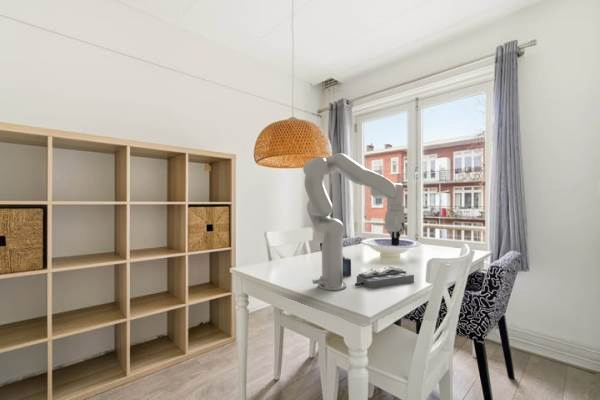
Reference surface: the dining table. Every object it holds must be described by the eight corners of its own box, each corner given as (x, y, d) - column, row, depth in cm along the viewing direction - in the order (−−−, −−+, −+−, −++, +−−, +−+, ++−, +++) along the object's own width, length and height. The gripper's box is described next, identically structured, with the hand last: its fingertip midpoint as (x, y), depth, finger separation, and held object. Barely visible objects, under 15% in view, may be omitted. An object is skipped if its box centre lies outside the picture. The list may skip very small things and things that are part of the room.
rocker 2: (380, 274, 131) (379, 272, 131) (375, 273, 135) (374, 270, 134) (390, 270, 134) (389, 267, 133) (384, 268, 137) (384, 266, 137)
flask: (333, 275, 146) (333, 255, 146) (334, 273, 148) (334, 254, 148) (350, 276, 143) (350, 256, 143) (351, 275, 145) (351, 255, 145)
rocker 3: (393, 269, 134) (393, 267, 134) (388, 268, 138) (388, 265, 138) (402, 271, 137) (403, 269, 137) (397, 270, 140) (397, 267, 140)
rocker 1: (366, 276, 128) (365, 274, 128) (361, 274, 131) (361, 272, 131) (376, 272, 130) (376, 269, 130) (371, 270, 134) (371, 267, 134)
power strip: (362, 290, 121) (362, 280, 121) (349, 284, 130) (349, 275, 130) (414, 281, 133) (413, 273, 133) (399, 276, 142) (398, 268, 142)
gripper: (379, 208, 143) (379, 243, 143) (400, 209, 129) (400, 248, 129) (390, 207, 145) (390, 242, 146) (412, 208, 132) (412, 247, 132)
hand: (395, 245), depth 137 cm, fingers closed
